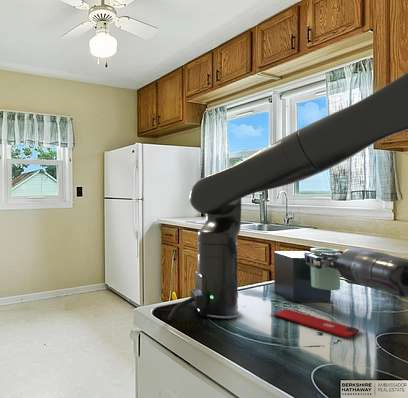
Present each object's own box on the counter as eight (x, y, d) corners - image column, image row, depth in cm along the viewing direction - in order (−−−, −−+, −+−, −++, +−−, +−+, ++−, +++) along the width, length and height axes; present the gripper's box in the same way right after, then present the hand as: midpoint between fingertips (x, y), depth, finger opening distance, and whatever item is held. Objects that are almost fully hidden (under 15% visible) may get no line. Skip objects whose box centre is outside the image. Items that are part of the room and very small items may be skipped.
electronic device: (273, 315, 76) (347, 338, 63) (273, 313, 76) (347, 335, 63) (286, 310, 79) (359, 331, 66) (286, 308, 79) (359, 329, 66)
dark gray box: (293, 302, 86) (293, 257, 86) (274, 291, 96) (274, 251, 96) (337, 302, 86) (336, 257, 86) (313, 291, 96) (313, 251, 96)
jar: (321, 290, 78) (320, 251, 78) (306, 284, 84) (305, 247, 84) (345, 290, 78) (345, 251, 78) (329, 284, 84) (328, 247, 84)
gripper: (404, 250, 67) (345, 241, 84) (335, 251, 67) (290, 241, 84) (405, 286, 67) (346, 269, 83) (335, 287, 67) (290, 270, 84)
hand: (318, 255), depth 84 cm, fingers closed on jar, 6 cm apart
